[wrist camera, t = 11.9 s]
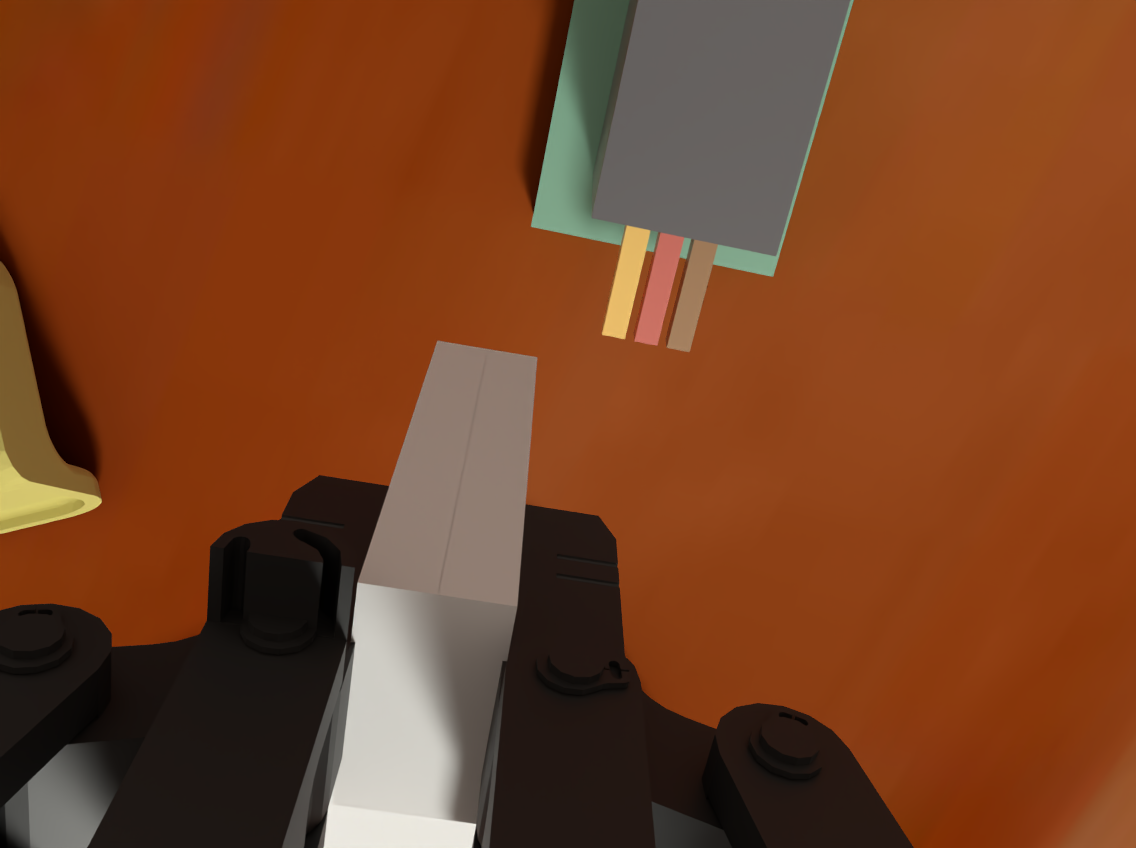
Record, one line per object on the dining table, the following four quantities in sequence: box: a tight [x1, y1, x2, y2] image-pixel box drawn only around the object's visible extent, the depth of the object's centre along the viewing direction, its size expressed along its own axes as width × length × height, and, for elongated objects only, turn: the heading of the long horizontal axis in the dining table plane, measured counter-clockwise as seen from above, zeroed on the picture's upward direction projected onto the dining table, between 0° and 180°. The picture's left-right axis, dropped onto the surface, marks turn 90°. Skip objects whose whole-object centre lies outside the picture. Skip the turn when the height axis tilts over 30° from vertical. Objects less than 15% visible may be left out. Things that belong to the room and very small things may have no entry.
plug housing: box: [592, 0, 850, 352], centre depth 30 cm, size 14×5×6 cm, turn 169°
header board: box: [531, 0, 854, 277], centre depth 31 cm, size 8×14×5 cm, turn 169°
